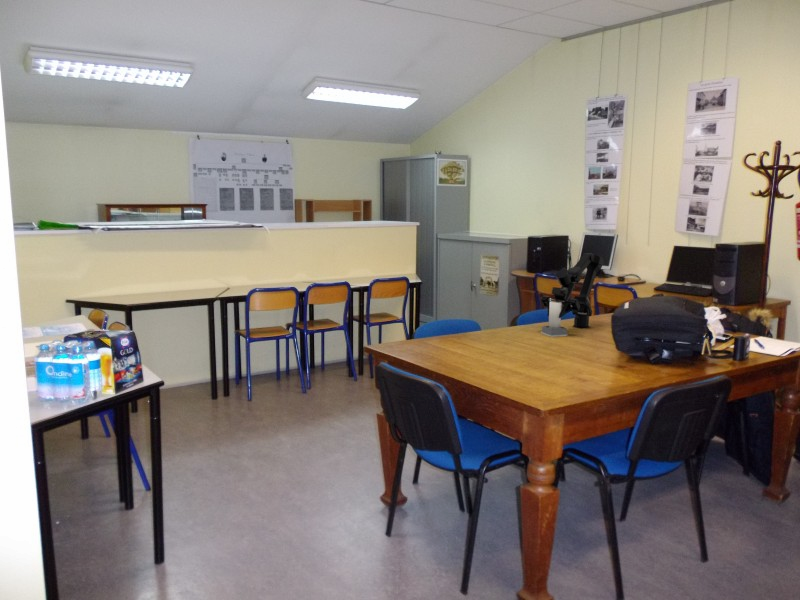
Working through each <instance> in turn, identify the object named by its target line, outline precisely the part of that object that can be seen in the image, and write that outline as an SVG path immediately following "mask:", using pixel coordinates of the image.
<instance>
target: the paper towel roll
mask: <svg viewBox="0 0 800 600" xmlns="http://www.w3.org/2000/svg"><path fill="white" fill-rule="evenodd" d="M562 308H563V305H562V302H558V301H551V302H550V305H549V317H548V326H549V328H550V329H560V328H561V327H562V325H561V324H562V317H561V318H559V314H560V312H561V310H562Z"/></svg>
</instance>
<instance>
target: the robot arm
mask: <svg viewBox="0 0 800 600" xmlns="http://www.w3.org/2000/svg"><path fill="white" fill-rule="evenodd" d="M604 264H605V260H604V258H603V257H602V256H601V255H595V254H593V253H590V252H589V253H588V252H587V253H586V252H585V253H582V256H581V258H580V259H579V260H578V261H577V263H576V264H575V265H574V266H573V267H570V268H568V269H567V267H562V268H561V269H559V270H557V271H556V272H555V278H556V280H557V281H558V284H559V286H560V287H558V286H557V287H555V286H553V287H552V289H551V293H550V294H551V295H553V298H551V297H550V296H549V295H542V296H541V298H540V300H539V301H540V302H541V304H542V305H543V307H545V308H547V317H548V318H549V305H550V302H551V301H558V302H562V307H561V312H560V314H559V318H561V319H562V317H564V316H566V315H567V314H568V313H570V312H571V313H572V315H573V316H574V319H573V320H574V321H573V325H572V327H575V328H578V329H586V328H587V327H590V328H591V326H590V325H589V324H590V317H592V315H593V309H592V307H591V301H590V295H591V292H592V290H593V289H592V288H593V286H594V282H595V279H596V275H597V273H598V272H599V271H601V269H602V268H603V265H604ZM585 270H586V273H585V276H584V278H583V283H582V286H581V289H580V293H579V295H576V296H574V297H573V298H572V296H571V295H572V293H573V291H576V286H575V284H576V283H580V282H581V280H582V277H583V276H582V274H583V272H584V271H585Z"/></svg>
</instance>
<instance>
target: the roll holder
mask: <svg viewBox="0 0 800 600" xmlns="http://www.w3.org/2000/svg"><path fill="white" fill-rule="evenodd" d="M541 328H542V329H541V332H540V333H541V334H542V335H545V336H548V337H550V338H551V337H553V338H554V337H556V338H557V337H568V328H567V327H564V326H561V328H560V329H550V328H549V325H542V327H541Z"/></svg>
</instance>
